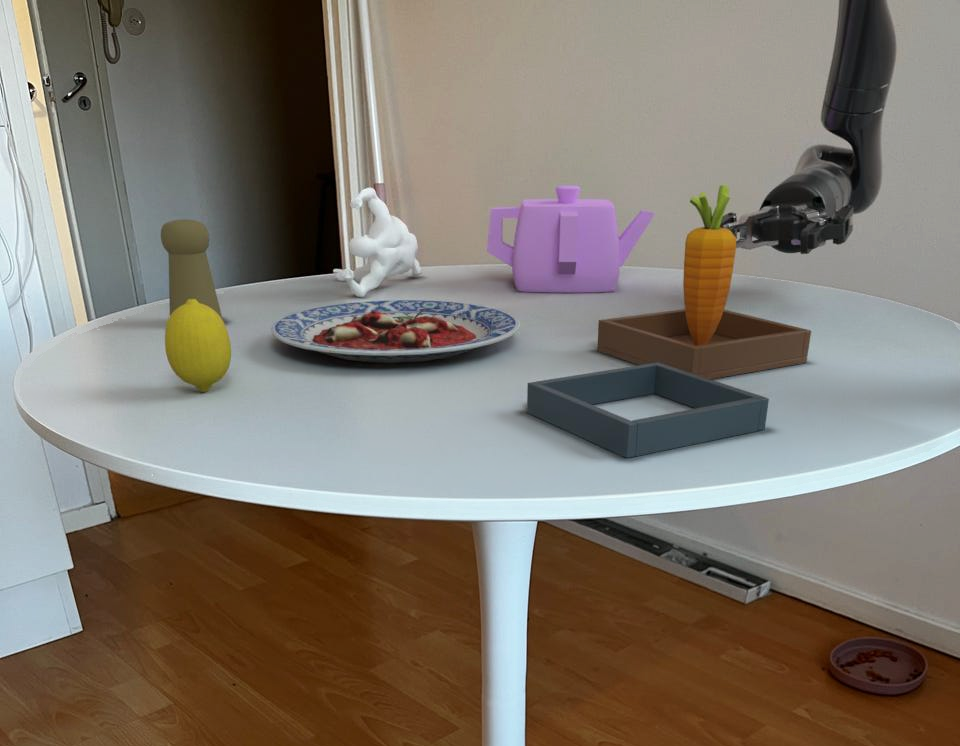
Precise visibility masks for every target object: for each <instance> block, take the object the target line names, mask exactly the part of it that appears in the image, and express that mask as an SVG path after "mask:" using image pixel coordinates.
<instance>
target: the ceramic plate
mask: <svg viewBox="0 0 960 746" xmlns="http://www.w3.org/2000/svg"><path fill="white" fill-rule="evenodd" d="M520 328H521V321H520V320H519V319H518V318H517V317H516V316H514V315H513V314H512V313H509V312H507V311H504V310H502V309H498V308H494V307H490V306H485V305H480V304H475V303H466V302H458V301H448V300H447V301H446V300H445V301H443V300H424V299H423V300H422V299H421V300H420V299H399V300H398V299H395V300H369V301H358V302H347V303H337V304H332V305H326V306H319V307H315V308H310V309H304V310H301V311H297V312H294V313H291V314H288V315H286V316H284V317H281V318H280V319H278V320H277V321H275V322H274V323H272V326H271V328H270V330H271V331H270V332H271V334H272V336H273V337H274V338H275V339H277V340H278V341H280V342H282V343H284V344H286V345H288V346H292V347H296V348H299V349H302V350H306V351H307V350H308V351H313V352H318V353H321V354H325V355H327V356H330V357H332V358H339V359H342V360H343V359H344V360H349V361H352V362H362V363H363V362H364V363H377V364H380V363H381V364H391V363H392V364H397V363H398V364H400V363H416V362H417V363H418V362H428V361H433V360H441V359H447V358H451V357H455V356H458V355H462V354H464V353H467V352H469V351H471V350H473V349H476V348H481V347H484V346H489V345H493V344H496V343H499V342H502V341H504V340H506V339H509V338H511V337H512V336H514V335H515V334H517V332H519V330H520Z"/></svg>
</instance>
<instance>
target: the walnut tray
mask: <svg viewBox="0 0 960 746" xmlns="http://www.w3.org/2000/svg"><path fill="white" fill-rule="evenodd" d="M597 325H598V327H597V347H596V348H597V349H596V351H597V352H599V353H601V354H604V355H608V356H610V357H614V358H616V359H618V360H619V359H620V360H622V361H625V362H628V363H632V364H635V365H636V366H638V365H644V364H652V363H657V362H658V363H661V364H664V365H667V366H671V367H674V368H677V369H680V370H683V371H686V372H689V373H692V374H695V375H698V376H701V377H704V378H707V379H711V380H714V379H720V378H725V377H731V376H738V375H742V374H748V373H749V374H750V373H754V372H761V371H767V370H773V369H779V368H783V367H789V366H797V365H801V364H802V365H803V364H807V363H808V355H809V348H810V343H811V336H812V335H811V334H812V330H811V329H808V328H807V329H806V328H803V327H799V326H795V325H790V324H786V323H783V322H777V321H773V320H769V319H766V318H763V317H762V318H761V317H757V316H753V315H750V314H745V313H741V312H736V311H732V310H728V309H725V308H724V311H723V314H722V317H721V320H720V322H719V324H718V326H717V328H716V331H715V333H714V334H713V336H712V338H711V339H710V341H709V343H708V344H704V345H698V346H695V345H694V342H693V340H692V337H691V334H690V331H689V327H688V323H687V319H686V313H685V308H681V309H675V310H667V311H658V312H651V313H644V314H635V315H628V316H622V317H621V316H620V317H613V318H606V319H605V318H604V319H598V324H597Z"/></svg>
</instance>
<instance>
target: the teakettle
mask: <svg viewBox="0 0 960 746" xmlns="http://www.w3.org/2000/svg"><path fill="white" fill-rule="evenodd" d="M580 190H581V187H579V186H578V185H558V186H556V187H555V193H556V196H557V198H529V199H527V198H526V199H523V200H522V201H521V203H520V206H495V207H493V206H492V207H491V208H490V214H489V225H488V235H487V246H486V253H488V254H490V255H492V256H493V257H495V258H496V259H498V260H499V261H501V262H503V263H505V264H506V265H508V266H509V267H511V270H512V271H511V272H512V276H513V277H512V278H513V281H514V285H515V288H516V291H518V292H523V293H551V294H552V293H555V294H556V293H557V294H558V293H561V294H573V293H574V294H575V293H576V294H577V293H579V294H581V293H583V294H584V293H610V292H611V293H612V292H614V291H615V289H616V287H617V284H618V280H619V276H620V268H623V266H624V264H625V262H626V260H627V259H628V257H629V256H630V254H631V253H632V251H633V249H634V248H635V247H636V245H637V243H638V242H639V240H640V239H641V237H642V235H643V234H644V233H645V231H646V229H647V227H648V226H649V224H650V223H651V221H652V220H653V218H654V216H655V212H653V211H648V210H644V209H640V210H639V212H638V214H637V215H636V216H635V217H634V219H633V220H632V221H631V222H630V223H629V225H628V226H627V227H625V229H624V230H623V232H622V233H621V234H620V235H619V229H618V222H617V221H618V220H617V213H616V209H615V208H616V207H615V205H614V203H613V202H612V201H611V200H610V199H606V198H605V199H604V198H578V197H579V194H580ZM503 219H515V220H517V223H516V227H515V231H514V232H515V233H514V240H513V246H512V245H511V244H508V243H506V242H505V241H503Z"/></svg>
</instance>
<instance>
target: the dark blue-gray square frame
mask: <svg viewBox="0 0 960 746" xmlns="http://www.w3.org/2000/svg"><path fill="white" fill-rule="evenodd" d="M526 392H527V394H526V396H527V397H526V413H527V414H529V415H532V416H534V417H536V418H537V419H540V420H542V421H545V422H547V423H549V424H551V425H553V426H555V427H558V428H559V429H561V430H564V431H567V432H568V433H571V434H573V435H575V436H577V437H579V438H582V439H584V440H585V441H589V442H591V443H593V444H595V445H597V446H600V447H601V448H604V449H606V450H608V451H611V452H613V453H615V454H617V455H619V456H621V457H623V458H626V459H629V458H634V457H639V456H644V455H648V454H649V455H650V454H654V453H658V452H664V451H668V450H673V449H677V448H683V447H687V446H692V445H697V444H702V443H706V442H707V443H708V442H712V441H717V440H722V439H727V438H730V437H731V438H732V437H736V436H740V435H747V434H750V433H755V432H756V433H757V432H759V431H764V430H766V423H767V416H768V415H767V414H768V409H769V403H770V402H769V401H770V398H769V397H766V396H763V395H759V394H756V393H753V392H751V391H747V390H744V389H741V388H739V387H735V386H731V385H729V384H726V383H723V382H720V381H716V380H714V379H707V378H704V377H701V376H698V375H695V374H692V373H689V372H686V371H683V370H680V369H677V368H674V367H671V366H667V365H664V364H661V363H658V362H657V363H652V364H644V365H633V366H626V367H625V366H624V367H619V368H613V369H608V370H607V369H606V370H600V371H593V372H588V373H582V374H576V375H575V374H574V375H569V376H563V377H555V378H550V379H544V380H537V381H530V382H527V389H526ZM653 394H655V395H657V396H661V397H663V398H666V399H669V400H671V401H674V402H677V403H679V404H682V405H685V406H688V407H691V409H686V410H679V411H675V412H670V413H664V414H659V415H653V416H649V417H643V418H638V419H632V420H630V419H627V418H625V417H624V416H623V417H622V416H620V415H618V414H616V413H613V412H611V411H608V410H605V409H604V408H601V407H598V406H596V405H597V404H603V403H608V402H613V401H620V400H625V399H631V398H636V397H642V396H648V395H653Z"/></svg>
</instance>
